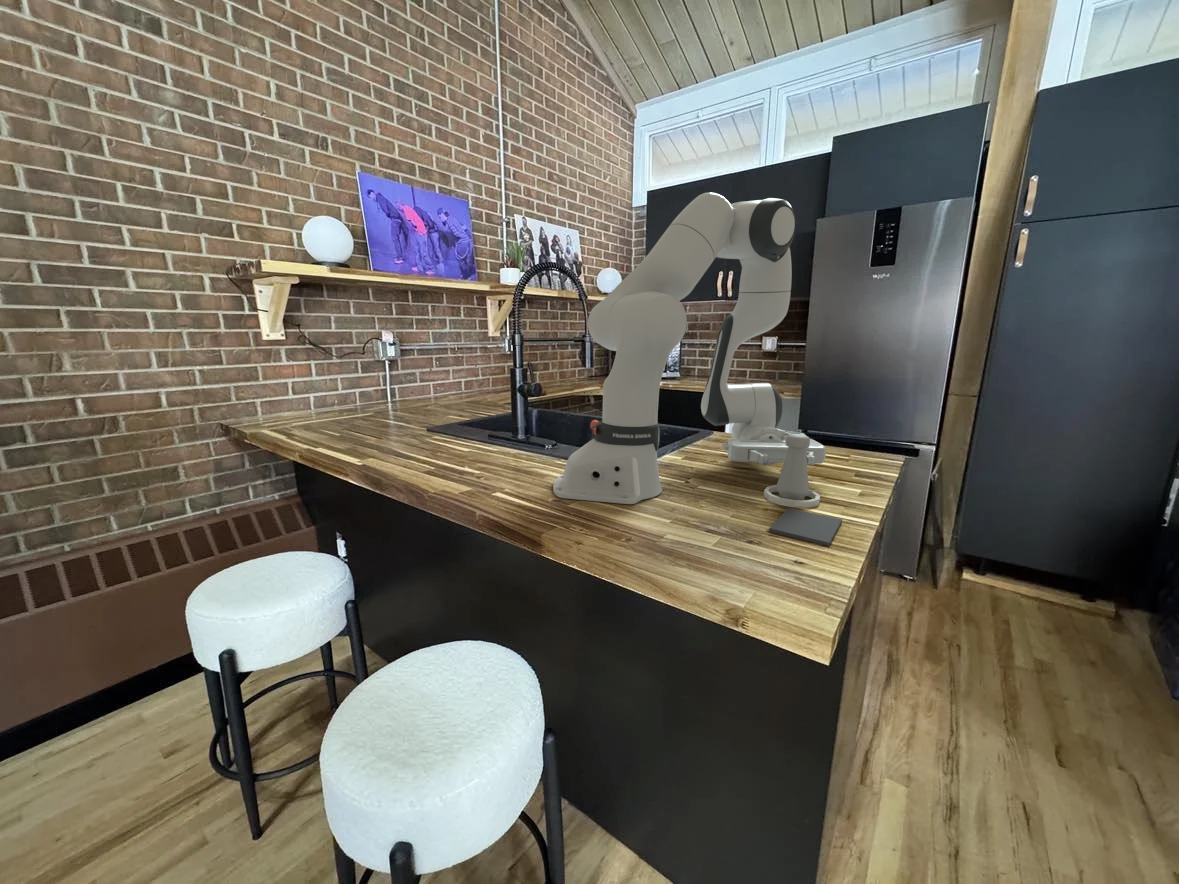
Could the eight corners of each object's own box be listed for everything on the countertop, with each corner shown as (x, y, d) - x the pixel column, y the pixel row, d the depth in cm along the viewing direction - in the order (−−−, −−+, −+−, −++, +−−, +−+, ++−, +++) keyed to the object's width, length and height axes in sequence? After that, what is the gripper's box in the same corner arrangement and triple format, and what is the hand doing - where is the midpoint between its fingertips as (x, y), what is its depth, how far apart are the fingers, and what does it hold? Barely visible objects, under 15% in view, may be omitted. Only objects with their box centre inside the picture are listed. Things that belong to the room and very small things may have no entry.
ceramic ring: (774, 506, 89) (775, 500, 89) (757, 489, 99) (758, 484, 99) (828, 508, 89) (829, 502, 89) (805, 491, 99) (806, 485, 98)
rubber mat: (829, 546, 73) (829, 542, 73) (769, 531, 78) (769, 528, 78) (841, 522, 82) (842, 519, 82) (787, 510, 87) (788, 507, 87)
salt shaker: (810, 504, 91) (818, 439, 88) (778, 502, 92) (785, 437, 89) (803, 495, 96) (810, 432, 93) (773, 492, 97) (780, 431, 94)
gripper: (721, 430, 109) (738, 444, 95) (810, 432, 108) (840, 446, 95) (718, 457, 110) (735, 474, 97) (807, 459, 110) (835, 476, 96)
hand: (788, 460), depth 96 cm, fingers open, 8 cm apart
